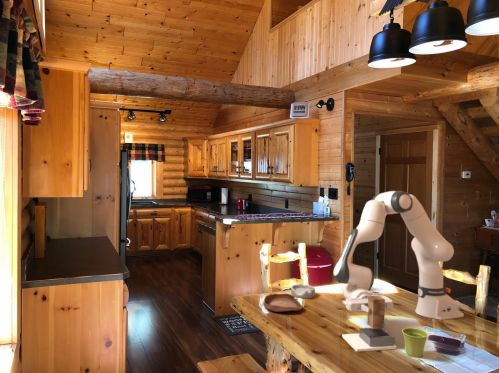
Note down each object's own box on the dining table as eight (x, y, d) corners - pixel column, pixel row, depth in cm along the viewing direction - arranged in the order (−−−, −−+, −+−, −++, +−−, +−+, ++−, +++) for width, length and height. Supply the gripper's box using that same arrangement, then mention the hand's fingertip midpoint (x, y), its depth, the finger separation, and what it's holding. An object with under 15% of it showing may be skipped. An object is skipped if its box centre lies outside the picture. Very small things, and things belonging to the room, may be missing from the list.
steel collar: (381, 335, 175) (382, 327, 174) (394, 345, 164) (394, 336, 164) (359, 336, 173) (359, 328, 173) (370, 346, 163) (370, 338, 163)
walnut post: (378, 323, 171) (379, 295, 171) (384, 328, 166) (384, 299, 166) (367, 324, 171) (368, 296, 170) (372, 328, 166) (373, 299, 165)
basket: (310, 313, 206) (310, 303, 206) (274, 318, 199) (274, 308, 199) (290, 300, 227) (290, 291, 227) (257, 304, 220) (257, 295, 219)
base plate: (379, 334, 178) (379, 332, 178) (396, 349, 163) (396, 346, 163) (342, 336, 175) (342, 334, 175) (356, 351, 161) (356, 349, 160)
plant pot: (420, 348, 163) (421, 327, 163) (432, 359, 154) (432, 336, 154) (397, 349, 163) (398, 327, 163) (407, 359, 154) (408, 337, 153)
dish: (314, 299, 228) (314, 291, 228) (289, 298, 230) (289, 289, 230) (315, 292, 242) (315, 284, 242) (292, 291, 245) (292, 283, 244)
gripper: (340, 293, 179) (353, 303, 166) (384, 292, 183) (400, 301, 169) (340, 307, 180) (353, 318, 166) (383, 306, 183) (399, 316, 169)
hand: (377, 310), depth 167 cm, fingers closed on walnut post, 5 cm apart
